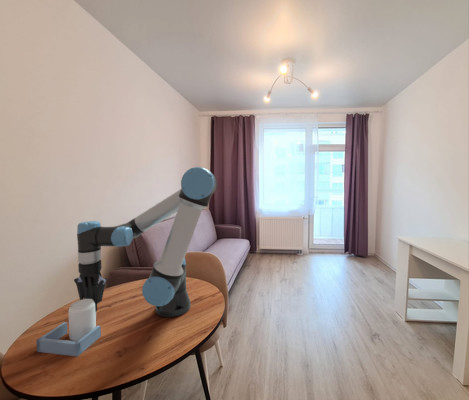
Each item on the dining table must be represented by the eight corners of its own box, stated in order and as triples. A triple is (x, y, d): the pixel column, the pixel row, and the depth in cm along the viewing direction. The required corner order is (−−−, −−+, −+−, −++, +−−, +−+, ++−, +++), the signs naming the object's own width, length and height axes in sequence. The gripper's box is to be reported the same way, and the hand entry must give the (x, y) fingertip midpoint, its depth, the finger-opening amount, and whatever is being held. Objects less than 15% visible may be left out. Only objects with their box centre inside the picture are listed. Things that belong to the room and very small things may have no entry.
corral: (100, 336, 80) (100, 325, 80) (77, 356, 70) (77, 344, 70) (64, 332, 83) (64, 322, 82) (36, 351, 73) (36, 339, 73)
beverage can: (87, 342, 77) (86, 308, 77) (63, 343, 77) (62, 309, 76) (100, 327, 85) (99, 297, 85) (79, 328, 85) (78, 298, 84)
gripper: (111, 258, 88) (113, 316, 89) (83, 257, 90) (85, 313, 91) (97, 265, 80) (99, 327, 81) (66, 263, 82) (69, 324, 83)
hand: (91, 319), depth 86 cm, fingers closed
